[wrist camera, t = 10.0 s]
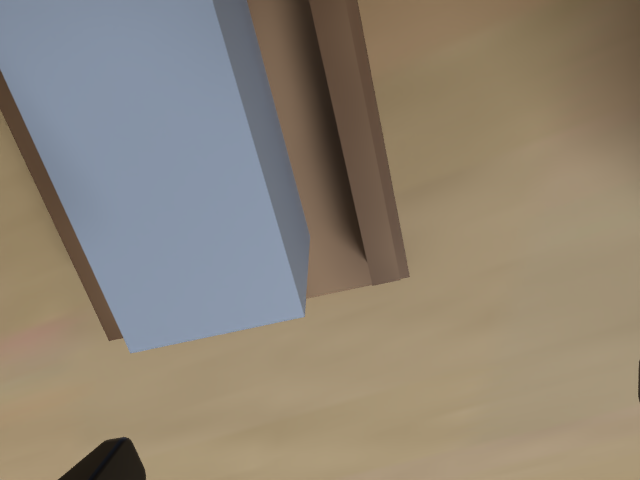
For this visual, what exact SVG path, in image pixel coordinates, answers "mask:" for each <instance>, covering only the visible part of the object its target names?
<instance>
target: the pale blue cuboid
mask: <svg viewBox="0 0 640 480" xmlns="http://www.w3.org/2000/svg"><path fill="white" fill-rule="evenodd" d="M0 70H1V72H2V74H3V76H4V79H5V81H6V83H7V85H8V87H9V89H10V92H11V94H12V96H13V98H14V100H15V103H16V105H17V107H18V109H19V111H20V113H21V116H22V118H23V120H24V122H25V124H26V127H27V129H28V131H29V133H30V135H31V137H32V140H33V142H34V144H35V146H36V148H37V151H38V153H39V155H40V157H41V159H42V161H43V164H44V166H45V168H46V170H47V172H48V174H49V177H50V179H51V181H52V183H53V185H54V188H55V190H56V192H57V194H58V196H59V198H60V201H61V203H62V205H63V207H64V209H65V212H66V214H67V216H68V218H69V220H70V222H71V225H72V227H73V229H74V231H75V233H76V236H77V238H78V240H79V242H80V244H81V246H82V249H83V251H84V253H85V255H86V257H87V259H88V262H89V264H90V266H91V268H92V270H93V273H94V275H95V277H96V279H97V281H98V283H99V286H100V288H101V290H102V292H103V294H104V297H105V299H106V301H107V303H108V305H109V307H110V310H111V312H112V314H113V316H114V318H115V320H116V323H117V325H118V327H119V329H120V331H121V334H122V336H123V338H124V340H125V342H126V344H127V347H128V349H129V351H130V353H134V352H139V351H144V350H149V349H153V348H158V347H163V346H168V345H173V344H177V343H182V342H187V341H192V340H196V339H201V338H206V337H211V336H215V335H220V334H225V333H230V332H235V331H239V330H244V329H249V328H254V327H258V326H263V325H268V324H273V323H277V322H282V321H287V320H292V319H297V318H301V317H305V305H306V290H307V276H308V261H309V246H310V234H309V230H308V226H307V223H306V219H305V215H304V211H303V208H302V204H301V200H300V197H299V193H298V189H297V185H296V182H295V178H294V174H293V171H292V167H291V163H290V159H289V156H288V152H287V148H286V144H285V141H284V137H283V133H282V130H281V126H280V122H279V118H278V115H277V111H276V107H275V103H274V100H273V96H272V92H271V89H270V85H269V81H268V77H267V74H266V70H265V66H264V63H263V59H262V55H261V51H260V48H259V44H258V40H257V36H256V33H255V29H254V25H253V22H252V18H251V14H250V10H249V7H248V3H247V0H0Z"/></svg>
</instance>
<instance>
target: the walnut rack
mask: <svg viewBox="0 0 640 480" xmlns="http://www.w3.org/2000/svg"><path fill="white" fill-rule="evenodd" d="M247 3H248V7H249V10H250V14H251V18H252V22H253V25H254V29H255V33H256V36H257V40H258V44H259V48H260V51H261V55H262V59H263V63H264V66H265V70H266V74H267V77H268V81H269V85H270V89H271V92H272V96H273V100H274V103H275V107H276V111H277V115H278V118H279V122H280V126H281V130H282V133H283V137H284V141H285V144H286V148H287V152H288V156H289V159H290V163H291V167H292V171H293V174H294V178H295V182H296V185H297V189H298V193H299V197H300V200H301V204H302V208H303V211H304V215H305V219H306V223H307V226H308V230H309V234H310V246H309V261H308V276H307V290H306V299H307V298H311V297H316V296H321V295H326V294H331V293H335V292H340V291H345V290H350V289H354V288H359V287H364V286H369V285H372V286H373V285H378V284H383V283H388V282H393V281H397V280H400V279H402V278H407V277H410V276H409V271H408V266H407V260H406V255H405V250H404V244H403V239H402V234H401V229H400V223H399V218H398V213H397V208H396V202H395V197H394V192H393V186H392V181H391V176H390V171H389V165H388V160H387V155H386V149H385V144H384V139H383V134H382V128H381V123H380V118H379V112H378V107H377V102H376V97H375V91H374V86H373V81H372V76H371V70H370V65H369V60H368V54H367V49H366V44H365V39H364V33H363V28H362V23H361V17H360V12H359V7H358V2H357V0H247ZM0 109H1V111H2V113H3V115H4V118H5V120H6V122H7V124H8V126H9V128H10V130H11V133H12V135H13V137H14V139H15V141H16V143H17V145H18V147H19V150H20V152H21V154H22V156H23V158H24V160H25V162H26V165H27V167H28V169H29V171H30V173H31V175H32V177H33V179H34V182H35V184H36V186H37V188H38V190H39V192H40V194H41V197H42V199H43V201H44V203H45V205H46V207H47V209H48V212H49V214H50V216H51V218H52V220H53V222H54V224H55V226H56V229H57V231H58V233H59V235H60V237H61V239H62V241H63V244H64V246H65V248H66V250H67V252H68V254H69V256H70V258H71V261H72V263H73V265H74V267H75V269H76V271H77V273H78V276H79V278H80V280H81V282H82V284H83V286H84V288H85V291H86V293H87V295H88V297H89V299H90V301H91V303H92V305H93V308H94V310H95V312H96V314H97V316H98V318H99V320H100V323H101V325H102V327H103V329H104V331H105V333H106V335H107V337H108V340H109V341H111V340H116V339H121V338H123V336H122V334H121V331H120V329H119V327H118V325H117V323H116V320H115V318H114V316H113V314H112V312H111V310H110V307H109V305H108V303H107V301H106V299H105V297H104V294H103V292H102V290H101V288H100V286H99V283H98V281H97V279H96V277H95V275H94V273H93V270H92V268H91V266H90V264H89V262H88V259H87V257H86V255H85V253H84V251H83V249H82V246H81V244H80V242H79V240H78V238H77V236H76V233H75V231H74V229H73V227H72V225H71V222H70V220H69V218H68V216H67V214H66V212H65V209H64V207H63V205H62V203H61V201H60V198H59V196H58V194H57V192H56V190H55V188H54V185H53V183H52V181H51V179H50V177H49V174H48V172H47V170H46V168H45V166H44V164H43V161H42V159H41V157H40V155H39V153H38V151H37V148H36V146H35V144H34V142H33V140H32V137H31V135H30V133H29V131H28V129H27V127H26V124H25V122H24V120H23V118H22V116H21V113H20V111H19V109H18V107H17V105H16V103H15V100H14V98H13V96H12V94H11V92H10V89H9V87H8V85H7V83H6V81H5V79H4V76H3V74H2V72H1V70H0Z"/></svg>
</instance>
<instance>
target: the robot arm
mask: <svg viewBox="0 0 640 480" xmlns="http://www.w3.org/2000/svg"><path fill="white" fill-rule="evenodd" d="M638 397H639V402H640V361H639V382H638ZM58 480H146V473H145V469H144V466H143V464H142V462H141V460H140V458H139V456H138V453H137V451H136V449H135V447H134V445H133V443H132V441H131V440H130V439H129V438H126V437H122V438H115V439H109V440H106V441H104V442H103V443H101V444H100V445H99V446H98V447H97V448H95V449H94V450H93V451H92V452H91V453H89V454H88V455H87V456H86V457H85V458H83V459H82V460H81V461H80V462H79V463H77V464H76V465H75V466H74V467H73V468H71V469H70V470H69V471H68V472H67V473H65V474H64V475H63V476H62V477H61V478H59V479H58Z"/></svg>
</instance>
